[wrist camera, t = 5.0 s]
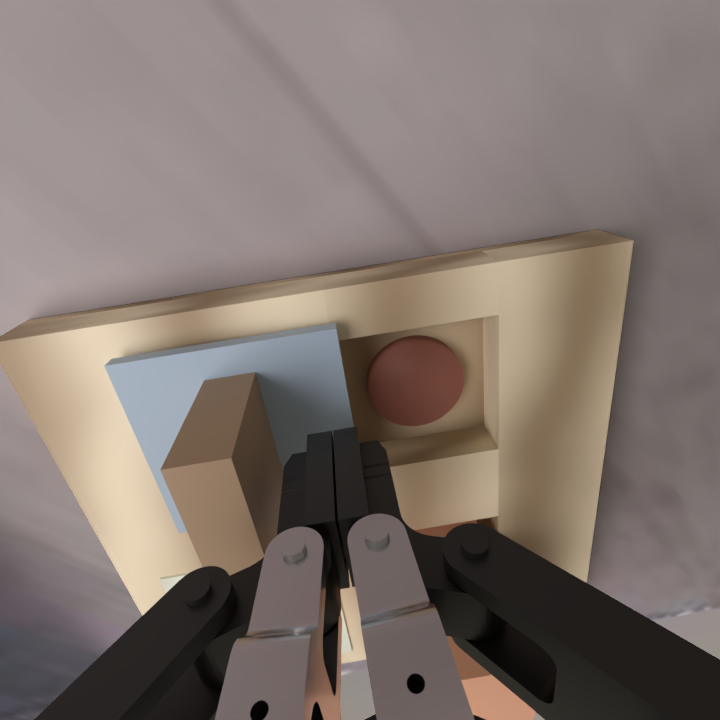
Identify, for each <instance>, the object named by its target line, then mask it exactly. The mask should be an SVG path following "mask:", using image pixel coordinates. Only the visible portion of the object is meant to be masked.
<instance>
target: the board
mask: <svg viewBox="0 0 720 720" xmlns="http://www.w3.org/2000/svg"><path fill="white" fill-rule="evenodd" d="M633 242H634V240H631V239H627V238H624V237H621V236H617V235H614V234H610V233H607V232H604V231H600V230H591V231H585V232H579V233H572V234H566V235H560V236H553V237H547V238H541V239H535V240H528V241H522V242H516V243H509V244H503V245H497V246H491V247H484V248H478V249H472V250H465V251H459V252H453V253H447V254H440V255H434V256H428V257H421V258H415V259H409V260H403V261H396V262H390V263H384V264H378V265H371V266H365V267H359V268H352V269H346V270H340V271H334V272H327V273H321V274H315V275H308V276H302V277H296V278H290V279H283V280H277V281H271V282H264V283H258V284H252V285H246V286H239V287H233V288H227V289H220V290H214V291H208V292H202V293H195V294H189V295H183V296H176V297H170V298H164V299H158V300H151V301H145V302H139V303H132V304H126V305H120V306H114V307H107V308H101V309H95V310H89V311H82V312H76V313H70V314H63V315H57V316H51V317H45V318H38V319H32V320H27V321H26V322H24V323H22V324H20V325H19V326H17V327H15V328H14V329H12V330H10V331H9V332H7V333H5V334H4V335H2V336H0V365H1V366H2V368H3V370H4V372H5V373H6V375H7V377H8V379H9V380H10V382H11V384H12V386H13V388H14V389H15V391H16V393H17V395H18V396H19V398H20V400H21V402H22V403H23V405H24V407H25V409H26V411H27V412H28V414H29V416H30V418H31V419H32V421H33V423H34V425H35V426H36V428H37V430H38V432H39V434H40V435H41V437H42V439H43V441H44V442H45V444H46V446H47V448H48V449H49V451H50V453H51V455H52V456H53V458H54V460H55V462H56V464H57V465H58V467H59V469H60V471H61V472H62V474H63V476H64V478H65V479H66V481H67V483H68V485H69V487H70V488H71V490H72V492H73V494H74V495H75V497H76V499H77V501H78V502H79V504H80V506H81V508H82V510H83V511H84V513H85V515H86V517H87V518H88V520H89V522H90V524H91V525H92V527H93V529H94V531H95V533H96V534H97V536H98V538H99V540H100V541H101V543H102V545H103V547H104V548H105V550H106V552H107V554H108V556H109V557H110V559H111V561H112V563H113V564H114V566H115V568H116V570H117V571H118V573H119V575H120V577H121V579H122V580H123V582H124V584H125V586H126V587H127V589H128V591H129V593H130V594H131V596H132V598H133V600H134V602H135V603H136V605H137V607H138V609H139V610H140V612H141V614H142V616H143V615H144V614H145V613H146V612H147V611H148V610H149V609H150V608H151V607H152V606H153V605H154V604H155V603H156V602H157V601H158V600H160V599H161V598H162V597H163V596H164V595H165V594H166V593H167V592H168V591H169V590H170V589H171V588H172V587H173V586H174V585H175V584H176V583H177V582H178V581H179V580H181V579H182V578H183V577H184V576H185V575H187V574H188V573H190V572H192V571H194V570H196V569H199V568H202V565H201V562H200V560H199V558H198V556H197V553H196V551H195V549H194V546H193V544H192V542H191V539H190V537H189V535H188V533H187V532H184V533H179V532H178V530H177V527H176V525H175V523H174V521H173V519H172V516H171V514H170V512H169V510H168V507H167V505H166V503H165V501H164V498H163V496H162V494H161V492H160V490H159V487H158V485H157V483H156V481H155V478H154V476H153V474H152V472H151V469H150V467H149V465H148V463H147V460H146V458H145V456H144V454H143V452H142V449H141V447H140V445H139V443H138V440H137V438H136V436H135V434H134V431H133V429H132V427H131V425H130V423H129V420H128V418H127V416H126V414H125V411H124V409H123V407H122V405H121V402H120V400H119V398H118V396H117V393H116V391H115V389H114V387H113V385H112V382H111V380H110V378H109V376H108V373H107V371H106V369H105V367H104V366H105V365H106V364H107V363H108V362H109V361H110V359H113V358H119V357H125V356H131V355H137V354H144V353H150V352H156V351H162V350H169V349H175V348H181V347H187V346H193V345H200V344H206V343H212V342H218V341H224V340H231V339H237V338H243V337H249V336H255V335H262V334H268V333H274V332H280V331H286V330H293V329H299V328H305V327H311V326H318V325H324V324H330V323H336V327H337V333H338V339H339V344H340V350H341V356H342V362H343V367H344V373H345V379H346V384H347V390H348V396H349V402H350V407H351V413H352V419H353V425H354V427H356V426H357V431H358V436H359V442H360V443H362V442H368V441H374V440H377V441H378V442H379V443H380V444H381V445H382V446H383V447H384V448H385V449H386V452H387V456H388V461H389V465H390V469H391V474H392V478H393V483H394V487H395V491H396V496H397V500H398V505H399V509H400V513H401V516H402V519H403V520H404V522H405V523H406V524H407V525H408V526H409V527H410V528H411V529H413V530H419V529H425V528H431V527H436V526H442V525H448V524H454V523H460V522H466V521H472V520H476V521H477V524H482V525H485V526H488V527H490V528H492V529H494V530H496V531H497V532H499V533H501V534H503V535H504V536H506V537H508V538H509V539H511V540H513V541H515V542H516V543H518V544H520V545H522V546H523V547H525V548H527V549H529V550H530V551H532V552H534V553H535V554H537V555H539V556H541V557H542V558H544V559H546V560H548V561H549V562H551V563H553V564H555V565H556V566H558V567H560V568H562V569H563V570H565V571H567V572H568V573H570V574H572V575H574V576H575V577H577V578H579V579H581V580H582V581H584V582H586V583H587V577H588V570H589V562H590V555H591V548H592V541H593V533H594V526H595V519H596V511H597V504H598V497H599V490H600V482H601V475H602V468H603V461H604V453H605V446H606V439H607V431H608V424H609V417H610V410H611V402H612V395H613V388H614V380H615V373H616V366H617V359H618V351H619V344H620V337H621V330H622V322H623V315H624V308H625V300H626V293H627V286H628V279H629V271H630V264H631V257H632V249H633ZM349 582H350V588H345V589H340V591H341V616H342V645H341V664H342V663H348V662H354V661H360V660H365V659H366V653H365V647H364V641H363V635H362V629H361V619H360V613H359V607H358V601H357V595H356V589H355V587H352V583H351V578H350V573H349Z"/></svg>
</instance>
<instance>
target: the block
mask: <svg viewBox="0 0 720 720" xmlns="http://www.w3.org/2000/svg"><path fill="white" fill-rule="evenodd" d="M466 523H477V521H476V520H472V521H466V522H460V523H454V524H448V525H442V526H436V527H431V528H425V529H419V530H415V531H416V532H419V533H421V534H424V535H430V536H437V537H445V536H446V535H447V533H448V532H449V531H450V530H451V529H453V528H455V527H456V526H459V525H462V524H466ZM446 637H447V640H448V643H449V646H450V649H451V652H452V655H453V658H454V661H455V664H456V667H457V670H458V672H459V675H460V678H461V681H462V684H463V687H464V690H465V693H466V696H467V699H468V702H469V705H470V708H471V711H472V713H473V715H476V716H479V717H481V718H483V719H486V720H534V715H535V711H534V710H533V709H532V708H531V707H530V706H528V705H527V704H526V703H525V702H524V701H522V700H521V699H520V698H519V697H518V696H516V695H515V694H514V693H513V692H512V691H511V690H509V689H508V688H507V687H506V686H505V685H503V684H502V683H501V682H500V681H499V680H497V679H496V678H495V677H494V676H493V675H491V674H490V673H489V672H488V671H487V670H485V669H484V668H483V667H482V666H481V665H480V664H478V663H477V662H476V661H475V660H474V659H472V658H471V657H470V656H469V655H468V654H466V653H465V652H464V651H463V650H462V649H460V648H459V647H458V646H457V645H456V643H455V642H454V641H453V639H452V637H451V636H446Z"/></svg>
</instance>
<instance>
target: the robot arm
mask: <svg viewBox="0 0 720 720" xmlns="http://www.w3.org/2000/svg"><path fill="white" fill-rule="evenodd" d="M281 492H282V494H281V500H280V509H279V519H278V528H277V536H276V537H275V538H274V539H273V540H272V541H271V542H270V543H269V545H268V547H267V549H266V551H265V555H264V557H263V558H262V559H261V560H260V561H258V562H257V563H255V564H253V565H251V566H250V567H247V568H245V569H243V570H241V571H239V572H237V573H234V574H232V575H230V576H229V574H228V573H227V571H225V570H224V569H223V568H220V567H217V566H206V567H202V568H199V569H196V570H194V571H192V572H190V573H188V574H187V575H185V576H184V577H183V578H182V579H181V580H179V581H178V582H177V583H176V584H175V585H174V586H173V587H172V588H171V589H170V590H169V591H168V592H167V593H166V594H165V595H164V596H163V597H162V598H161V599H160V600H158V601H157V602H156V603H155V604H154V605H153V606H152V607H151V608H150V609H149V610H148V611H147V612H146V613H145V614H144V615H143V616H142V617H141V618H140V619H139V620H138V621H137V622H136V623H134V624H133V625H132V626H131V627H130V628H129V629H128V630H127V631H126V632H125V633H124V634H123V635H122V636H121V637H120V638H119V639H118V640H117V641H116V642H115V643H114V644H113V645H112V646H111V647H109V648H108V649H107V650H106V651H105V652H104V653H103V654H102V655H101V656H100V657H99V658H98V659H97V660H96V661H95V662H94V663H93V664H92V665H91V666H90V667H89V668H88V669H87V670H85V671H84V672H83V673H82V674H81V675H80V676H79V677H78V678H77V679H76V680H75V681H74V682H73V683H72V684H71V685H70V686H69V687H68V688H67V689H66V690H65V691H64V692H63V693H62V694H60V695H59V696H58V697H57V698H56V699H55V700H54V701H53V702H52V703H51V704H50V705H49V706H48V707H47V708H46V709H45V710H44V711H43V712H42V713H41V714H40V715H39V716H38V717H36V718H35V719H34V720H341V712H340V685H341V684H340V683H341V682H340V681H341V645H342V616H341V591H340V589H345V588H350V582H349V573H350V578H351V583H352V587H355V589H356V595H357V601H358V607H359V613H360V619H361V629H362V635H363V641H364V647H365V653H366V659H367V665H368V671H369V677H370V683H371V689H372V695H373V701H374V706H375V712H376V714H375V715H373V716H371V717H369V718H367V719H365V720H486V719H483V718H481V717H479V716H476V715H473V713H472V711H471V708H470V705H469V702H468V699H467V696H466V693H465V690H464V687H463V684H462V681H461V678H460V675H459V672H458V670H457V667H456V664H455V661H454V658H453V655H452V652H451V649H450V646H449V643H448V640H447V637H446V636H451V637H452V639H453V641H454V642H455V643H456V645H457V646H458V647H459V648H460V649H462V650H463V651H464V652H465V653H466V654H468V655H469V656H470V657H471V658H472V659H474V660H475V661H476V662H477V663H478V664H480V665H481V666H482V667H483V668H484V669H485V670H487V671H488V672H489V673H490V674H491V675H493V676H494V677H495V678H496V679H497V680H499V681H500V682H501V683H502V684H503V685H505V686H506V687H507V688H508V689H509V690H511V691H512V692H513V693H514V694H515V695H516V696H518V697H519V698H520V699H521V700H522V701H524V702H525V703H526V704H527V705H528V706H530V707H531V708H532V709H533V710H534V711H536V712H537V713H538V714H539V715H540V716H542V717H543V718H544V719H545V720H720V660H719V659H718V658H716V657H714V656H712V655H711V654H709V653H707V652H705V651H704V650H702V649H700V648H699V647H696V646H695V645H693V644H692V643H690V642H688V641H686V640H685V639H683V638H681V637H679V636H678V635H676V634H674V633H672V632H671V631H669V630H667V629H666V628H664V627H662V626H660V625H658V624H656V623H655V622H653V621H652V620H650V619H648V618H646V617H645V616H643V615H641V614H640V613H638V612H636V611H634V610H633V609H631V608H629V607H627V606H626V605H624V604H622V603H620V602H619V601H617V600H615V599H614V598H612V597H610V596H608V595H607V594H605V593H603V592H601V591H600V590H598V589H596V588H594V587H593V586H591V585H589V584H588V583H586V582H584V581H582V580H581V579H579V578H577V577H575V576H574V575H572V574H570V573H568V572H567V571H565V570H563V569H562V568H560V567H558V566H556V565H555V564H553V563H551V562H549V561H548V560H546V559H544V558H542V557H541V556H539V555H537V554H535V553H534V552H532V551H530V550H529V549H527V548H525V547H523V546H522V545H520V544H518V543H516V542H515V541H513V540H511V539H509V538H508V537H506V536H504V535H503V534H501V533H499V532H497V531H496V530H494V529H492V528H490V527H488V526H485V525H482V524H477V523H466V524H462V525H459V526H456V527H455V528H453V529H451V530H450V531H449V532H448V533H447V535H446V536H445V537H437V536H430V535H424V534H421V533H419V532H416V531H415V530H413V529H411V528H410V527H409V526H408V525H407V524H406V523H405V522H404V520H403V519H402V516H401V513H400V509H399V505H398V500H397V496H396V491H395V487H394V483H393V478H392V474H391V469H390V465H389V461H388V456H387V452H386V449H385V448H384V447H383V446H382V445H381V444H380V443H379V442H378V441H377V440H374V441H368V442H362V443H360V442H359V436H358V431H357V426H356V427H349V428H343V429H337V430H333V434H332V431H326V432H320V433H314V434H308V435H307V452H302V453H296V454H292V455H291V457H290V458H289V460H288V461H287V463H286V464H285V466H284V471H283V483H282V490H281Z"/></svg>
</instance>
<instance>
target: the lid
mask: <svg viewBox="0 0 720 720" xmlns="http://www.w3.org/2000/svg"><path fill="white" fill-rule="evenodd" d="M104 367H105V369H106V371H107V373H108V376H109V378H110V380H111V382H112V385H113V387H114V389H115V391H116V393H117V396H118V398H119V400H120V402H121V405H122V407H123V409H124V411H125V414H126V416H127V418H128V420H129V423H130V425H131V427H132V429H133V431H134V434H135V436H136V438H137V440H138V443H139V445H140V447H141V449H142V452H143V454H144V456H145V458H146V460H147V463H148V465H149V467H150V469H151V472H152V474H153V476H154V478H155V481H156V483H157V485H158V487H159V490H160V492H161V494H162V496H163V498H164V501H165V503H166V505H167V507H168V510H169V512H170V514H171V516H172V519H173V521H174V523H175V525H176V527H177V530H178V532H179V533H184V532H187V533H188V535H189V537H190V539H191V542H192V544H193V546H194V549H195V551H196V553H197V556H198V558H199V560H200V562H201V565H202V567H206V566H217V567H220V568H223V569H224V570H225V571H227V573H228V574H229V576H230V575H232V574H234V573H237V572H239V571H241V570H243V569H245V568H247V567H250V566H251V565H253V564H255V563H257V562H258V561H260V560H261V559H262V558H263V557H264V555H265V551H266V549H267V547H268V545H269V543H270V542H271V541H272V540H273V539H274V538H275V537H276V536H277V528H278V519H279V509H280V500H281V494H282V492H281V490H282V483H283V471H284V466H285V464H286V463H287V461H288V460H289V458H290V457H291V455H292V454H296V453H302V452H307V435H308V434H314V433H320V432H326V431H332V434H333V430H337V429H343V428H349V427H354V425H353V419H352V413H351V407H350V402H349V396H348V390H347V384H346V379H345V373H344V367H343V362H342V356H341V350H340V344H339V339H338V333H337V327H336V323H330V324H324V325H318V326H311V327H305V328H299V329H293V330H286V331H280V332H274V333H268V334H262V335H255V336H249V337H243V338H237V339H231V340H224V341H218V342H212V343H206V344H200V345H193V346H187V347H181V348H175V349H169V350H162V351H156V352H150V353H144V354H137V355H131V356H125V357H119V358H113V359H110V361H109V362H108V363H107V364H106V365H105V366H104Z"/></svg>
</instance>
